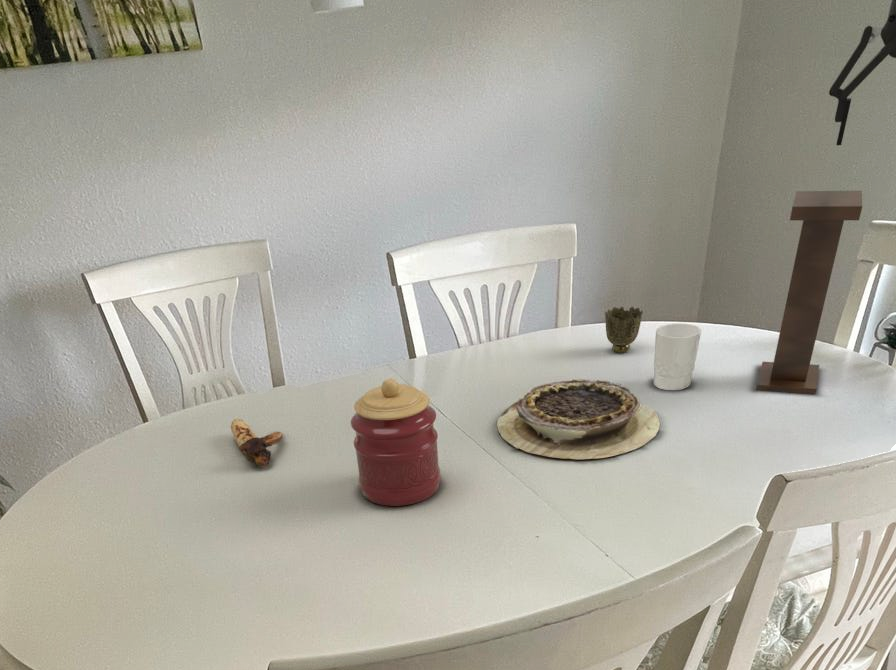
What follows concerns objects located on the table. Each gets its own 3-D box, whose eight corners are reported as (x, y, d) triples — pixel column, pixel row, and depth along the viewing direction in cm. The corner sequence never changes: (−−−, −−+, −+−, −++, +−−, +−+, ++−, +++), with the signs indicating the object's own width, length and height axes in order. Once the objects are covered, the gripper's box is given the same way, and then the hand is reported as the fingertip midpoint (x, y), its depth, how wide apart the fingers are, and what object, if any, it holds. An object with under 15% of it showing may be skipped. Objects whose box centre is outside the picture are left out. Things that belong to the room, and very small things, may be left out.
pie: (691, 432, 132) (695, 403, 128) (557, 477, 123) (558, 447, 120) (589, 383, 152) (591, 357, 149) (468, 419, 143) (467, 392, 140)
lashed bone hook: (299, 463, 136) (271, 425, 148) (296, 438, 133) (267, 401, 145) (247, 475, 133) (223, 435, 146) (242, 450, 130) (218, 411, 143)
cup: (599, 355, 162) (601, 316, 157) (606, 344, 168) (609, 305, 163) (635, 358, 160) (639, 317, 155) (641, 345, 165) (645, 306, 160)
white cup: (642, 381, 150) (647, 328, 144) (677, 373, 152) (683, 320, 146) (666, 395, 144) (672, 340, 138) (702, 386, 146) (710, 331, 140)
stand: (818, 370, 148) (862, 190, 129) (815, 394, 139) (862, 206, 120) (761, 366, 151) (796, 191, 132) (756, 390, 143) (792, 206, 124)
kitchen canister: (403, 461, 132) (392, 357, 121) (457, 484, 124) (452, 375, 113) (344, 491, 125) (327, 383, 114) (397, 516, 118) (385, 404, 107)
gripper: (833, -9, 123) (802, 148, 137) (1021, -26, 114) (968, 143, 128) (834, -10, 128) (804, 141, 142) (1014, -27, 120) (964, 136, 133)
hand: (882, 143), depth 135 cm, fingers open, 13 cm apart
